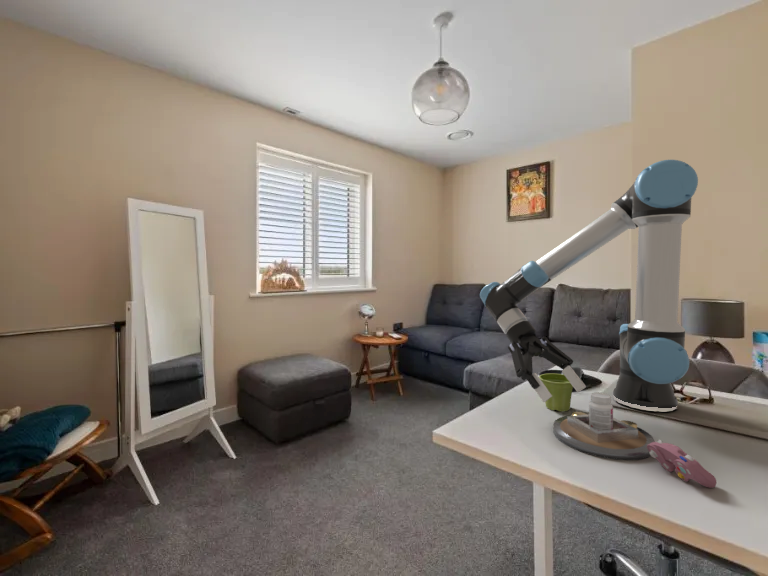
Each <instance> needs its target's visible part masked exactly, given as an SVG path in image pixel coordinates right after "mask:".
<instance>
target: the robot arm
mask: <svg viewBox="0 0 768 576" xmlns="http://www.w3.org/2000/svg"><path fill="white" fill-rule="evenodd" d="M698 184H699V177H698V173H697V172H696V170H695V168H693V167H692V166H691V165H690V164H688V163H686V162H685V161H683V160H678V159H664V160H660V161H656V162H654V163H652V164H650V165H649V166H646V167H645V168H644V169H643V170H642V171H641V172H640V173H638V175H637V177H636V178H635V181H634V182H633V184H632V185H631V186H630V187H629V188H628V190H627V191H625V193H624V194H622V195H621V196H620V197H618V199H616V200H615V201H614V202H612V203H611V204H610V205H611V206H610V209H609V210H607V211H606V212H603V214H601V215H599V217H597V218H596V219H594V220H593V221H591V222H589V224H587V225H586V226H584V227H583V228H581V229H580V230H579V231H577V232H576V233H574V234H573V235H572V236H570V237H568V238H566V240H564V241H563V242H562V243H560V244H559V245H558V246H556V247H554V248H553V249H552V250H550V251H549V252H547V253H545V254H544V255H543V256H542V257H540V258H539V259H538V260H536V261H535V260H530V261H529V262H527V263H526V264H524V265H522V266H521V267H520V268H519V269H518V270H517V271H515V272H514V273H513V274H512V275H511V276H510V277H508V278H507V279H506V280H505V281H503V282H502V283H500V282H498V281H492V282H490V283H489V284H486V285H485V286H483V288H482V289H481V290H480V291H479V292H480V293H479V298H480V299H481V302H482V303H483V305H484V307H485V308H486V310H487V311H488V312H489V313H490V315H491V316H492V318H493V319H494V320H495V321H496V323H497V325H498V326H499V327H500V329H501V331H502V332H503V334H505V336H506V338H507V339H508V341H509V342H510V344H509V346H507V348H508V350H509V352H510V354H511V357H512V362H513V365H514V370H515V375H516V377H517V378H520V379H521V380H523V381H527V382H528V383H529V385H530V387H531V388H532V389H533V390H535V392H536V393H537V395H538V397H539V398H540V399H541V401H542V402H543V403H545V402H546V401H547V400H548V399H549V398H551V397H552V395H551V394H550V392H549V391H548V389H547V388H546V386H545V385H544V384H543V382H542V381H541V379H540V378H539V375H538V374H537V373H536V372H534V373H533V371H534V370H533V357H539V358H544V359H545V360H547V361H548V362H550V363H551V364H553V365H555V366H556V367H558V368H560V369H561V374H563V375H565V377H566V378H567V379H568V381H569V382H570V383H571V385H572V386H573V389H574V390H575V391H576V392H577V393H580V392H581V391H582V390H584V389H585V388H586V387H587V386H586V384H585V383H584V382H583V380H582V379H581V378H580V377H579V375H578V374H577V372H576V371H575V369H574V368H573V367H572V366H571V365H573V363H574V360H573V359H572V358H571V357H570V356H568V354H566V353H565V352H563V351H562V350H561V349H560V348H558V347H557V346H555V344H553V343H552V342H551V341H550V340H549V339H548V338H547V337H546V336H543V337H541V339H539V338H538V337H537V336H536V333H537V331H536V329H535V328H534V326H533V325H532V324H531V322H530V321H528V317H526V315H525V314H524V313H523V312H522V310H521V309H520V308H519V307H518V306H517V305H518V304H519V303H521V302H522V301H524V299H526V298H528V296H530V295H532V294H533V293H535V292H537V291H538V290H539V289H541V288H542V287H543V286H545V285H547V284H548V283H550V282H551V281H552V280H554V279H556V278H557V277H558V276H560V275H561V274H562V273H563V274H564V273H565V272H566V271H568V270H569V269H570V268H572V267H573V266H575V265H576V264H578V263H579V262H581V261H582V260H584V259H585V258H587V257H589V256H590V255H591V254H592V253H594V252H596V251H597V250H599V249H600V248H602V247H603V246H605V245H606V244H608V243H610V242H611V241H612V240H614V239H616V238H617V237H618V236H620V235H621V234H622V233H624V232H626V231H628V230H635V229H637V228H638V230H637V231H638V236H637V255H636V256H637V258H636V259H637V261H636V262H637V264H636V284H635V285H636V286H635V308H634V309H635V311H634V319H633V320H632V321H631V322H630V323H622V324H621V325H620V327H619V332H618V335H619V376H618V379H617V382H616V385H615V388H614V389H613V391H612V396H613V395H614V396H615V397H616V398H618V399H620V400H622V401H624V402H628V403H631V404H637V405H640V406H646V407H658V408H672V407H676V406H677V405H678V406H679V401H678V398H677V396H675V391H674V388H673V385H672V383H674V382H676V381H679V380H681V378H684V376H686V374H687V372H688V371H689V367H690V358H689V353H688V352H687V350H686V349H685V340H686V329H685V327H683V326H682V325H681V324H680V323H679V322H678V316H679V294H680V274H681V273H680V272H681V255H682V254H681V250H682V249H681V248H682V230H683V229H682V227H683V224H684V222H686V221H687V220H688V219H689V218H691V213H692V197H693V196H694V195H695V193H696V191H697V188H698V186H699V185H698Z"/></svg>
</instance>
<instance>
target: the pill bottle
mask: <svg viewBox="0 0 768 576" xmlns="http://www.w3.org/2000/svg"><path fill="white" fill-rule="evenodd" d="M588 414H589V426H591V427H593V428H594V429H596V430H598V431H602V430H612V429H613V418H614V406H613V405H612V396H611V395H610V394H609V393H605V392H598V391H597V392H591V393H590V401H589V402H588Z"/></svg>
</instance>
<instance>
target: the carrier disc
mask: <svg viewBox="0 0 768 576" xmlns="http://www.w3.org/2000/svg"><path fill="white" fill-rule="evenodd" d="M552 427H553V429H552V430H553V435H554V436H555V438H556V439H557V440H559V441H560V442H561V443H563V444H564V445H566V446H567V447H569V448H571V449H574V450H575V451H579V452H581V453H584V454H588V455H592V456H593V457H600V458H605V459H611V460H617V461H618V460H620V461H621V460H622V461H636V460H643V459H647V458H650V457H652V456H651V455H650V453H649V451H648V449H647V445H648V444H650V443H652V442H655V441H656V439H655V438H654V437H653V436H652V435H651V433H649V432H647V431H646V430H644V429H642V428H641V427H638V424H637V423H636V422H634V421H631V420H627V419H626V420H624V419H622V420H620V419H618V418H615V417H613V429H612V430H602V431H598V430H596V429H594V428H593V427H591V426H589V413H588V414H587V413H585V412H582V411H573V412H572V413H571V415H563V416H561V417H559V418H557V419H555V420H554V422H553V425H552Z"/></svg>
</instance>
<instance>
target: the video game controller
mask: <svg viewBox="0 0 768 576" xmlns="http://www.w3.org/2000/svg"><path fill="white" fill-rule="evenodd" d="M647 449H648V451H649V453H650V455H651V456H650V457H652V458H654V459H656V460H657V462H659V464H660V465H661V467H663V468H664V469H665V471H667V472H668V473H672V472H673V471H675V474H676V475H677V476H678V478H680V480H682V481H684V482H689V481H690V480H693V481H695V483H698V484H699V485H701V486H703V487H706V488H708V489H713V488H715V487H716V485H717V479H716V477H715V475H714V474H712V473H711V472H710V471H708V470H707V469H706V468H704V467H703V466H702V465H701V463H700V462H699V461H697V459H695V458H694V457H693V456H692V455H690V454H687V453H686V452H685V451H684V450H683V449H682V448H680V447H679V446H677V445H675V444H674V443H673V444H672V443H668V442H663V441H662V440H661V439H658V440H657V441H656V440H655V442H652V443H650V444H648V445H647Z"/></svg>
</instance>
